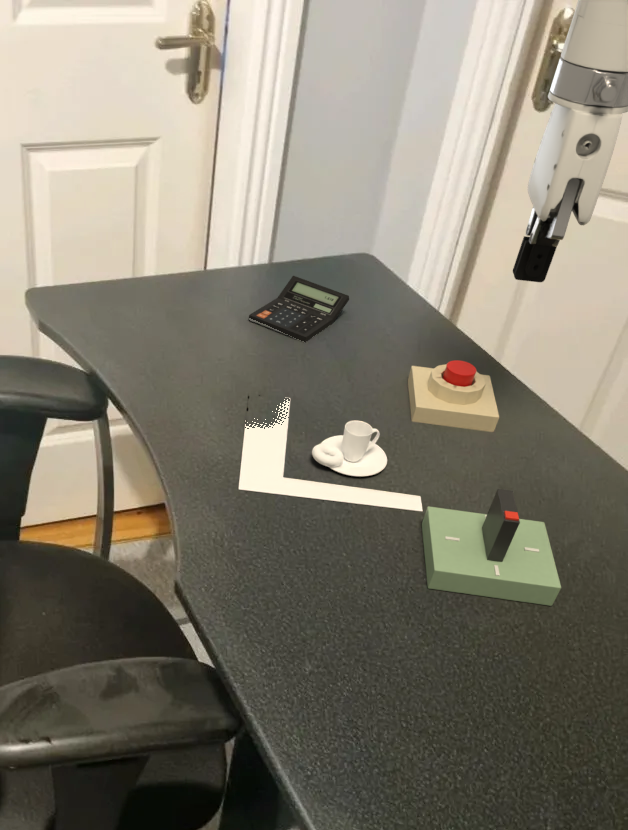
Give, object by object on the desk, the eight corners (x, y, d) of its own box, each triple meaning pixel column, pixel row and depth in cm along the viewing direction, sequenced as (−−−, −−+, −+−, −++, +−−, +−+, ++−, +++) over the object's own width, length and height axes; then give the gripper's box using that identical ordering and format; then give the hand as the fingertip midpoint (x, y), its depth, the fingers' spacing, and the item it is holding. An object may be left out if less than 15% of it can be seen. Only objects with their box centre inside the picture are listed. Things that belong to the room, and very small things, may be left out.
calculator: (248, 320, 121) (251, 300, 118) (291, 294, 127) (294, 274, 125) (304, 343, 117) (308, 322, 115) (346, 314, 124) (350, 294, 122)
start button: (470, 374, 106) (474, 362, 105) (473, 389, 104) (478, 376, 102) (441, 371, 106) (445, 358, 105) (443, 385, 104) (447, 373, 103)
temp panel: (535, 540, 89) (545, 520, 88) (552, 606, 82) (562, 586, 80) (421, 524, 90) (428, 504, 88) (427, 588, 83) (435, 568, 81)
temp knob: (481, 527, 86) (498, 486, 83) (496, 529, 86) (513, 488, 83) (487, 560, 83) (504, 518, 79) (502, 562, 83) (521, 520, 79)
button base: (484, 390, 111) (494, 362, 108) (493, 432, 104) (504, 404, 101) (407, 380, 111) (415, 352, 109) (411, 422, 104) (419, 393, 102)
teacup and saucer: (309, 474, 95) (316, 443, 92) (310, 434, 101) (316, 404, 98) (388, 483, 95) (397, 453, 92) (384, 443, 101) (392, 413, 98)
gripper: (656, 111, 74) (575, 313, 86) (618, 69, 84) (551, 254, 97) (567, 103, 74) (500, 304, 87) (540, 62, 85) (484, 247, 98)
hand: (527, 277), depth 92 cm, fingers closed
